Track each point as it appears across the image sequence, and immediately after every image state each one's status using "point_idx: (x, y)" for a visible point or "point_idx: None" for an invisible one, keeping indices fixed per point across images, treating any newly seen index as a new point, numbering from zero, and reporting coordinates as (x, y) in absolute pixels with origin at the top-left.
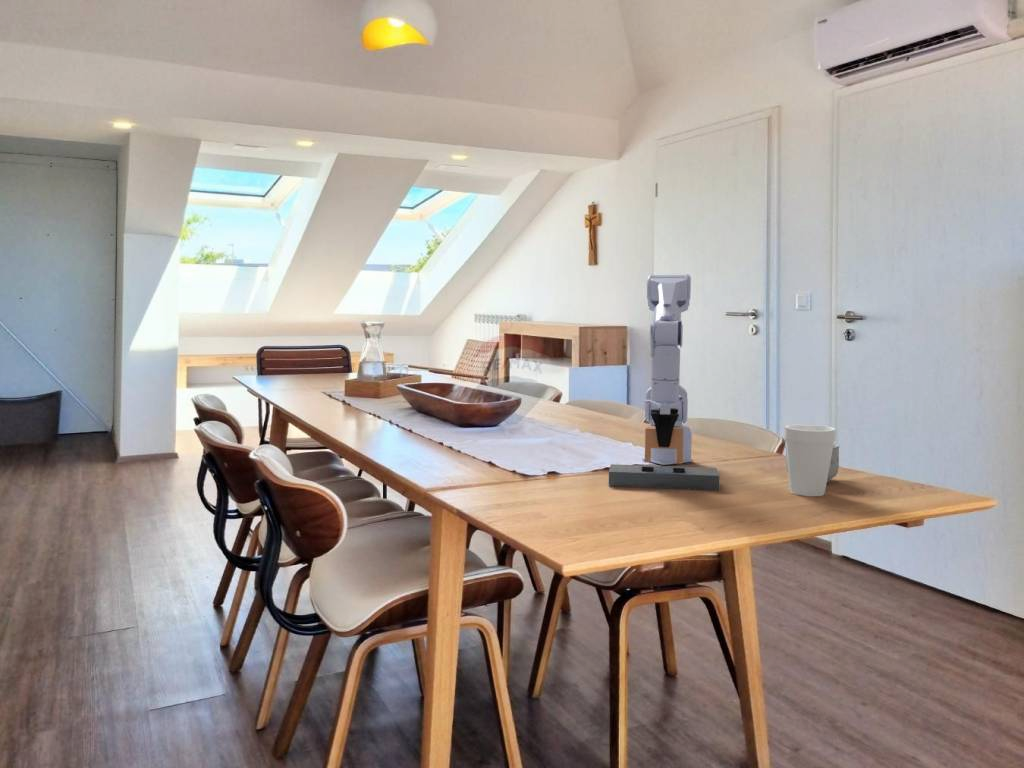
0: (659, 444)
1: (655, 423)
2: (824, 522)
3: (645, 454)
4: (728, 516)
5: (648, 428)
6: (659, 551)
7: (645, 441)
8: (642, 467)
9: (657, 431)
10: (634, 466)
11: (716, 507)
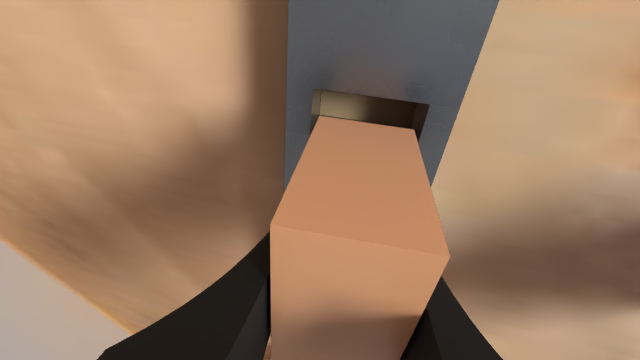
0: None
1: (177, 313)
2: (113, 313)
3: (312, 133)
4: (72, 216)
5: (277, 245)
6: None
7: (297, 168)
8: (428, 105)
9: (230, 272)
10: (436, 68)
11: (131, 215)
